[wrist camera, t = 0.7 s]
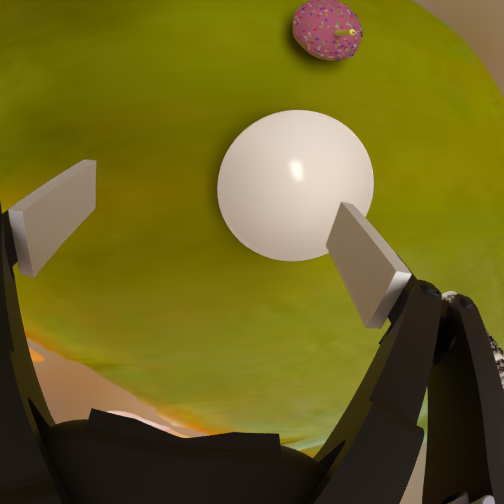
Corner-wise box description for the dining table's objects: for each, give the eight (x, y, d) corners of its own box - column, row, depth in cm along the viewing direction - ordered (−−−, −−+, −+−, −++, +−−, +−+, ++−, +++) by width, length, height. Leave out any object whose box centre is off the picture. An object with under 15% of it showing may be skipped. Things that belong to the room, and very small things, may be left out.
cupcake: (355, 58, 32) (399, 50, 21) (297, 69, 33) (322, 59, 22) (336, 4, 27) (373, -23, 17) (276, 13, 28) (293, -18, 18)
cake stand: (233, 95, 34) (232, 94, 27) (362, 126, 37) (391, 135, 29) (212, 221, 43) (207, 250, 35) (329, 239, 45) (346, 269, 38)
